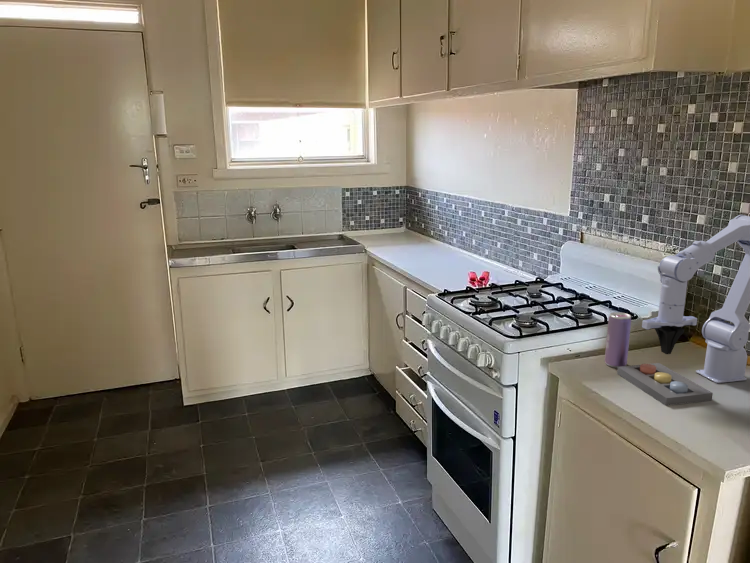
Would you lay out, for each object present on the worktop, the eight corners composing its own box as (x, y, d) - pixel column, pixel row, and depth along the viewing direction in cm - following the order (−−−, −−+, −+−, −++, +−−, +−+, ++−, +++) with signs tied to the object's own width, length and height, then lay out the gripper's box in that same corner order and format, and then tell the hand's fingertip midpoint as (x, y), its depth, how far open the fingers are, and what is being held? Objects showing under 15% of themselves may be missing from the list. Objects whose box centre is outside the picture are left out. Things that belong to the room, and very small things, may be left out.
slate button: (679, 388, 147) (680, 380, 146) (690, 395, 143) (691, 387, 142) (665, 390, 146) (666, 382, 146) (676, 396, 142) (677, 388, 142)
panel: (658, 369, 161) (659, 362, 161) (711, 400, 142) (712, 393, 142) (616, 373, 159) (617, 366, 158) (665, 405, 140) (666, 398, 139)
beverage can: (628, 369, 162) (633, 318, 158) (606, 367, 163) (611, 317, 159) (624, 361, 167) (629, 312, 164) (602, 359, 169) (607, 311, 165)
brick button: (649, 370, 158) (649, 363, 158) (658, 376, 154) (659, 368, 154) (636, 371, 158) (637, 364, 157) (645, 377, 154) (646, 369, 153)
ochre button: (663, 379, 153) (664, 371, 152) (674, 385, 149) (675, 377, 148) (650, 380, 152) (651, 372, 151) (660, 386, 148) (661, 378, 147)
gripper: (657, 309, 140) (651, 360, 143) (708, 305, 143) (701, 355, 146) (639, 301, 147) (633, 350, 150) (688, 297, 149) (682, 346, 153)
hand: (666, 352), depth 148 cm, fingers closed
